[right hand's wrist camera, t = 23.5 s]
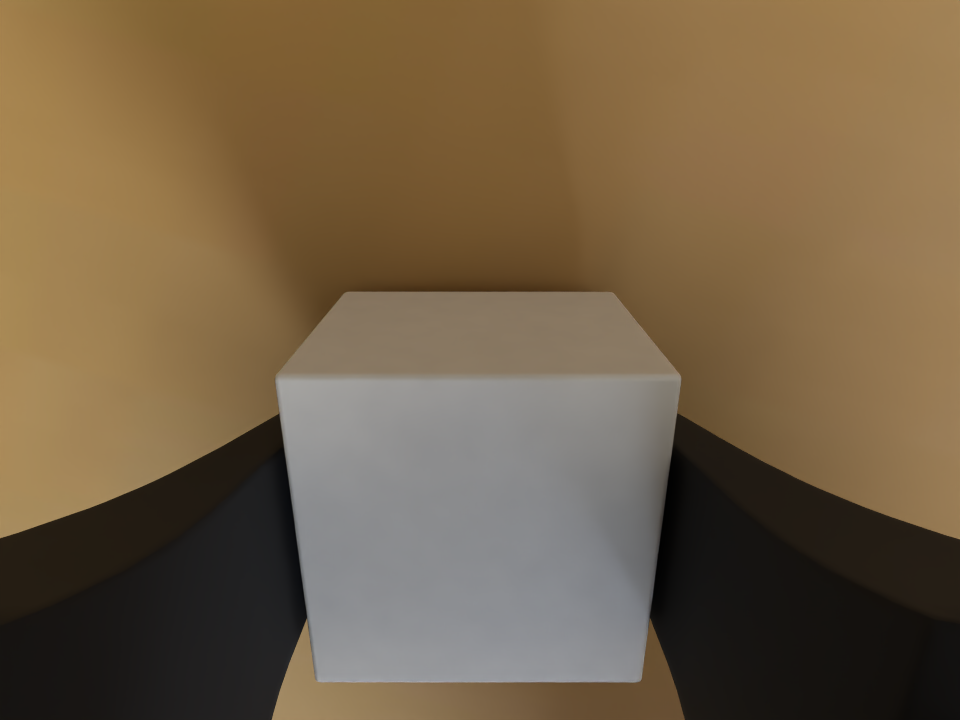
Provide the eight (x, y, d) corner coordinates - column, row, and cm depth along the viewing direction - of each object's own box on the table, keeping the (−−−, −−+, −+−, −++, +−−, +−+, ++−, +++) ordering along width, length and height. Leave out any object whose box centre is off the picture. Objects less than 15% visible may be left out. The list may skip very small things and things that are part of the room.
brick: (614, 290, 11) (683, 374, 7) (594, 521, 13) (642, 685, 9) (343, 290, 11) (271, 374, 7) (362, 521, 13) (314, 684, 9)
